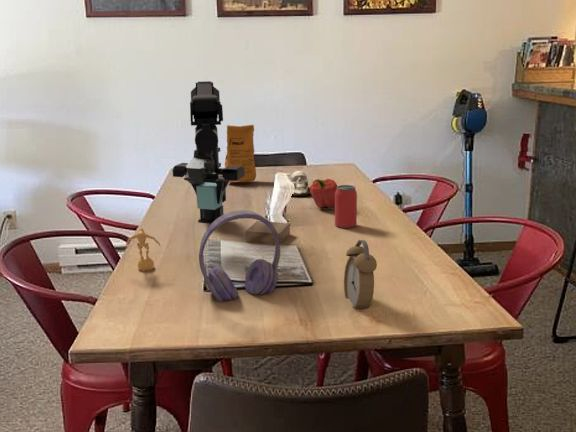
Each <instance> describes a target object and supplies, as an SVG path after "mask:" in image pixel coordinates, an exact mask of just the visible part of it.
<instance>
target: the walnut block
mask: <svg viewBox="0 0 576 432" xmlns="http://www.w3.org/2000/svg"><path fill="white" fill-rule="evenodd" d="M269 222H270V223H271V224H272V225H273V226H274V228H275V229H276V231H277V234H278V237H279V242H280V245H281V244H283V242H284V241H286V240H287V238H288V237H289V236H290V235H291V224H290V222H279V221H278V222H277V221H269ZM245 242H246V243H255V244H264V245H265V244H268V245H275V243H276V241H275V238H274V235H273V233H272V231H271V230H270V228H269V227H268V226H267V225H266V224H265V223H263V222H261V221H259V220H256V221H255V222H254V223H253V224H252V225H251V226H249V227H248V228H247V229H246V230H245Z"/></svg>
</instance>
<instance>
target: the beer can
mask: <svg viewBox="0 0 576 432" xmlns="http://www.w3.org/2000/svg"><path fill="white" fill-rule="evenodd" d="M337 186H338V187H337V190H336V192H335V206H334V225H335V226H336V227H338V228H341V229H350V228H354V227H356V225H357V217H358V216H357V215H358V209H357V208H358V205H357V204H358V194H357V190H356V186H354V185H349V184H341V185H337Z"/></svg>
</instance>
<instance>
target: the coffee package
mask: <svg viewBox="0 0 576 432" xmlns="http://www.w3.org/2000/svg"><path fill="white" fill-rule="evenodd" d="M254 132H255V126H254V124H248V125H241V126H240V125H239V126H237V125H230V124H227V125H226V144H227V145H226V154H225V160H224V168H226V167H228V166H230V165H231V166H242V167H243V168H244V170H245V176H244V177H242V178H241V179H239V180H236V181H235V182H239V183H247V182H253V181H256V178H257V171H256V170H257V169H256V163H255V156H254V155H255V145H254V134H255V133H254ZM232 182H233V183H234V181H232V180H230V181H229V183H232Z"/></svg>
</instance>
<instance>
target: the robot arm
mask: <svg viewBox="0 0 576 432" xmlns="http://www.w3.org/2000/svg"><path fill="white" fill-rule="evenodd" d="M189 106H190V107H189V109H190V111H189V113H190V114H189V115H190V126H191V127H192V126H195V128H194V130H195V131H194V132H195V136H194V144H195V148H196V149H195V150H193V157H192V159H190V161H189V162H181V163H178V164H176V165H174V166H173V167H172V177H173V178H183V180H184V181H186V182H189V184H191V186H192V188H193V190H194V193H195V195H196V196H197V189H196V186H198V185H200V184H202V183H204V182H207V183H216V184H217V203H218V204H220V203H221V200H222V203H225V201H227V187H228V185H229V183H230V182H229V181H230V180H232V181H233V182H237V181H236V180H239V179H241V178H242V177H244V176H245V170H244V168H243V167H242V166H231V165H230V166H228V167H226V168H225V167H224V168H221V167H222V162H220V159H219V158H220V157H219V153H220V152H221V147H219V136H218V135H219V134H218V127H217V126H218V125H219V126H220V125H222V122H223V121H224V113H223V104H222V103H221V99H220V90H219V89H218V88H216V87H214V82H213V81H210V80H209V81H207V80H206V81H197V82H195V87H194V88H193V89H192V90H191V91H190V102H189ZM224 214H225V213H224V205H223V204H222V206H220V207H218V208H217V209H215V210H211V209H199V216H200V217H199V219H198V220H197V222H198V223H207V224H212V223H213V222H214V221H215V220H216V219H217V218H219V217H220V216H222V215H224Z"/></svg>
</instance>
